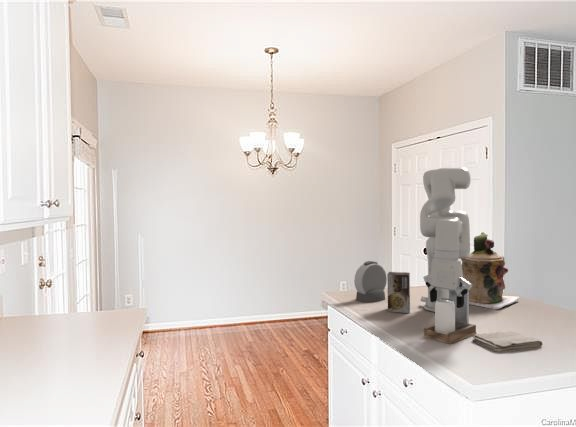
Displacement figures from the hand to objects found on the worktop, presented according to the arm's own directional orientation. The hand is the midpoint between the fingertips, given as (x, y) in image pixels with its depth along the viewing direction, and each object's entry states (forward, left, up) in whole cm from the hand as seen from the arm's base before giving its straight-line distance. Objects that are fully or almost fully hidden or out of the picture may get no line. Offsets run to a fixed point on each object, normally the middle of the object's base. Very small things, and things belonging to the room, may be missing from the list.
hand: (446, 304), depth 142 cm
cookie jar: (-16, +60, -11) cm, 63 cm away
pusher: (0, +7, -10) cm, 13 cm away
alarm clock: (-52, +22, -11) cm, 57 cm away
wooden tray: (0, +2, -11) cm, 11 cm away
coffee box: (-31, +15, -11) cm, 36 cm away
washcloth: (+17, +8, -12) cm, 22 cm away
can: (0, -1, -11) cm, 11 cm away
